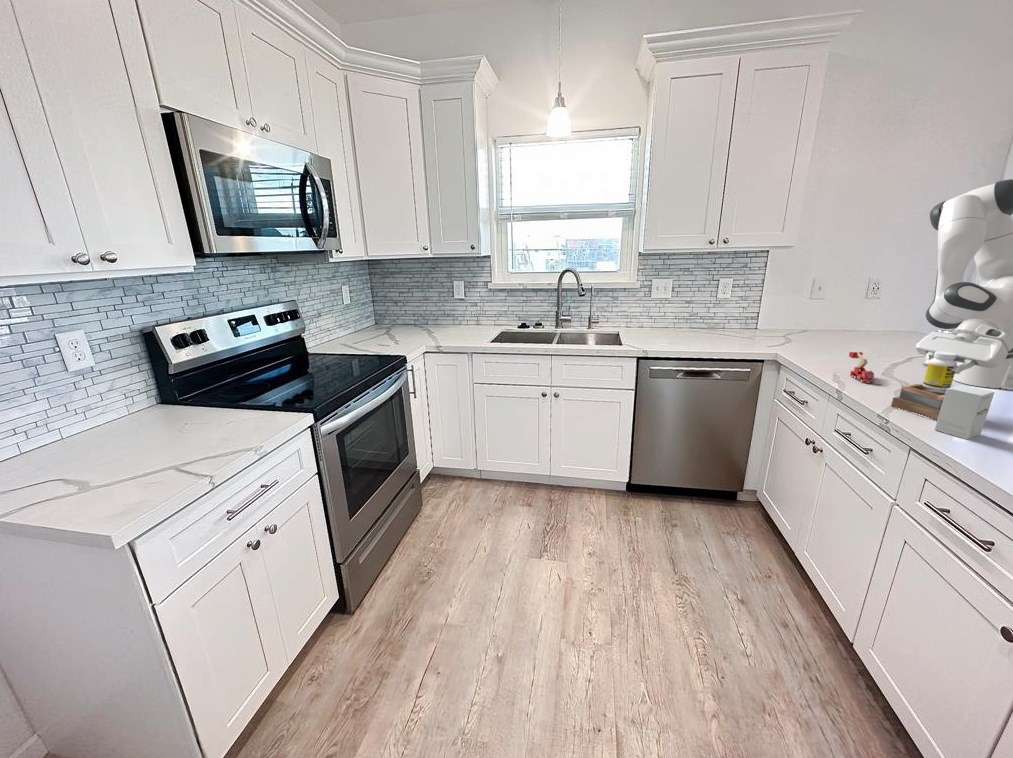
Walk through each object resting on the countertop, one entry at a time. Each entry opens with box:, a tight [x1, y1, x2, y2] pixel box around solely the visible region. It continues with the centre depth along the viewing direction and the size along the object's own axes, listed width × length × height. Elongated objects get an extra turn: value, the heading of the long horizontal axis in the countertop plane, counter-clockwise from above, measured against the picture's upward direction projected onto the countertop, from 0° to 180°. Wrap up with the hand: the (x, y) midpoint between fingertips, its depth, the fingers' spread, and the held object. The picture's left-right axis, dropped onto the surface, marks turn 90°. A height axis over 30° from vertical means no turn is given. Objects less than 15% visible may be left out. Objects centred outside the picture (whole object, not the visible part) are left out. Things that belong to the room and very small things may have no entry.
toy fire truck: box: [848, 351, 875, 384], centre depth 169 cm, size 3×14×10 cm, turn 168°
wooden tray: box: [890, 383, 946, 422], centre depth 136 cm, size 13×13×7 cm
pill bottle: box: [922, 351, 958, 391], centre depth 133 cm, size 6×6×11 cm
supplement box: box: [934, 384, 995, 440], centre depth 120 cm, size 7×7×13 cm
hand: (939, 369), depth 133 cm, fingers closed on pill bottle, 6 cm apart
